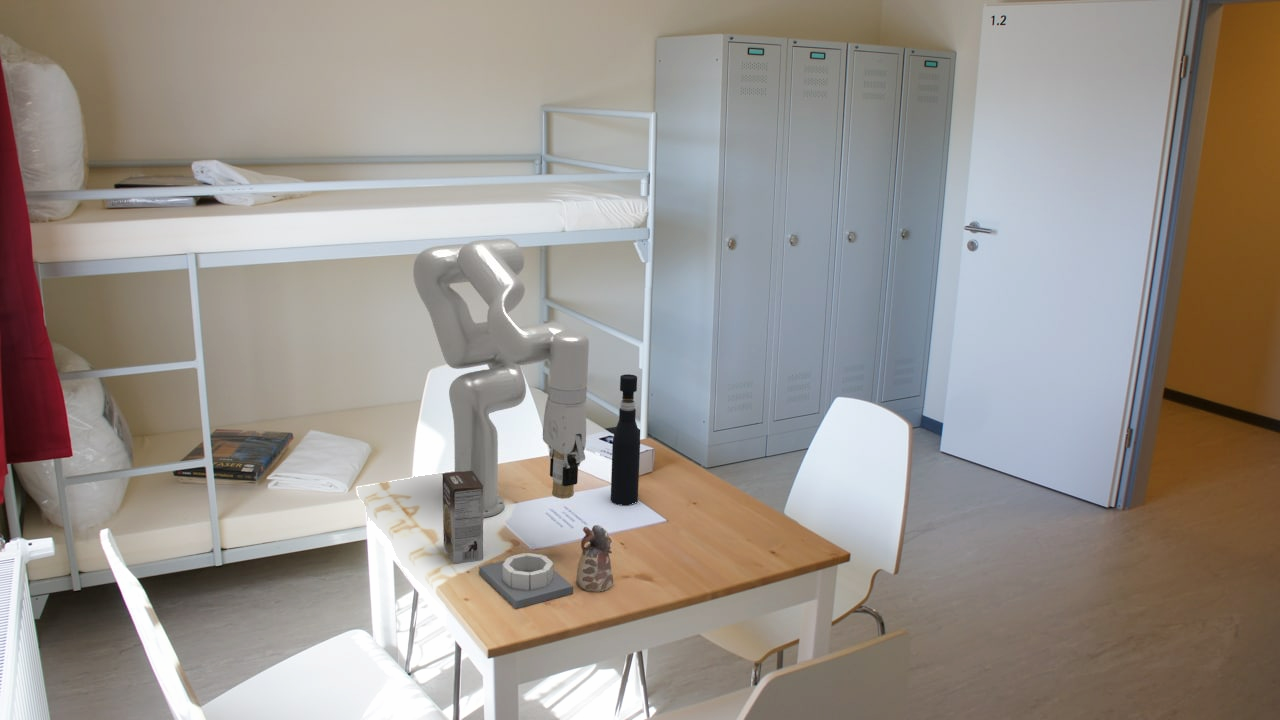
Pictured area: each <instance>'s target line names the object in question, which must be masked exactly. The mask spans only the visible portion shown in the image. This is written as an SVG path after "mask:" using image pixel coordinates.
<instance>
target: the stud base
mask: <svg viewBox="0 0 1280 720" xmlns="http://www.w3.org/2000/svg"><path fill="white" fill-rule="evenodd" d="M478 574H479V575H480V576H481V577H482V578H483V579H484V580H485V581H486V582H488V584H489V585H490V586H492V587H493V589H494V590H496V591H497V593H498V594H500V595H501V596H502V597H503V598H504V599H505V600H506V602H508V603H509V604H510V605H511V606H512V607H514V609H520V608H524V607H528V606H532V605H536V604H538V603H543V602H545V601H546V602H547V601H551V600H554V599H558V598H562V597H565V596H568V595H569V596H570V595H574V585H573V584H571V583H570V582H569V581H568V580H567V579H566V578H564V577H563V576H561V575H560V574H559V572H557V571H555V569H554V561H552V560H551V559H549V558H548V556H546V555H544V554H538V553H533V552H532V553H531V552H527V553H525V552H523V553H518V554H514V555H510V556H509V557H507V558H506V559H505V560H501V561H496V562H492V563H488V564H484V565H481V566H480V565H479V566H478Z"/></svg>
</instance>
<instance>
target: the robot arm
mask: <svg viewBox="0 0 1280 720" xmlns="http://www.w3.org/2000/svg"><path fill="white" fill-rule="evenodd" d="M524 265H525V256H524V252H523V251H522V248H521V247H520V246H519V244H518V243H517V242H516V241H514V240H512V239H509V238H494V239H481V240H479V239H478V240H474V241H471V242H468V243H461V244H460V243H459V244H446V245H438V246H432V247H429V248H425V249H423V250H422V251H421V252H419V254H417V256H416V257H415V260H414V264H413V270H412V271H413V274H412V275H413V281H414V284H415V285H414V286H415V288H416V290H417V291H416V292H417V293H418V295H419V297H420V299H421V300H422V302H423V304H424V306H425V308H426V310H427V311H428V314H429V316H430V319H431V323H432V327H433V329H434V332H435V335H436V338H437V342H438V344H439V347H440V352H441V353H442V356H443V358H444V361H445V362H446V364H447V366H448V367H450V368H452V369H460V370H461V369H469V368H474V367H480V366H485V365H487V367H488V369H481V370H475V371H470V372H467V373H464V374H461V375H458V376H457V377H456V378H455V379H454V380H453V381H452V382H451V384H450V386H449V390H448V396H449V402H450V407H451V412H452V418H453V433H454V434H453V438H454V440H453V442H454V472H460V471H462V472H464V471H473V472H474V474H475V475H476V477H477V478H478V479H479V481H480V482H481V483H482V485H483V518H486V517H487V518H488V517H491V516H496V515H497V514H499V513H501V512H502V511H503V510H504V509H505V500H504V499H503V497H500V496H499V495H498V485H499V484H498V483H499V482H498V479H499V473H498V466H499V465H498V459H499V458H498V457H499V456H498V455H499V453H498V449H499V447H498V446H499V442H498V441H499V439H498V430H497V427H496V426H495V424H494V422H493V421H492V419H490V416H489V414H492V413H494V412H499V411H504V410H508V409H513V408H515V407H518V406H519V405H520V404H522V403H523V402H524V400H525V397H526V395H527V394H526V393H527V385H526V381H525V377H524V373H523V371H522V368H521V366H527V365H532V364H533V365H534V364H537V363H542V362H549V363H548V365H549V366H548V367H549V368H548V369H549V371H548V388H547V389H548V390H547V392H548V393H547V399H546V403H545V407H544V415H543V426H542V440H543V441H542V442H543V443H545V444H546V445H547V446H548V447H549V454H548V455H549V457H550V462H549V477H551V478H553V458H554V450H556V451H557V452H559V453H560V454H562V455H564V460H565V467H563V476H562V485H563V486H570V485H574V486H575V485H577V484H578V478H579V477H578V476H579V467H580V464H581V463H582V462H583V461H585V460H586V455H585V450H586V445H587V444H586V443H587V413H586V403H587V391H588V389H587V388H588V369H589V368H588V367H589V349H590V341H589V338H588V336H587V335H586V334H585V333H582V332H580V331H575V330H572V329H570V328H569V327H568V326H566V325H564V323H561V322H556V321H553V322H544V323H538V324H537V323H536V324H531V325H524V326H520V327H519V326H518V325H517V324H516V323H515V322H514V321H513V319H512V318H511V317H510V315H509V313H510V312H511V311H512V310H514V309H515V308H516V307H517V306H518V305H519V304H520V302H521V301H522V300H523V298H524V296H525V293H526V291H525V289H526V288H525V284H524V282H523V281H522V280H521V279H520V278H519V276H518V275H519V274H520V273H521V272H522V271H523V269H524V267H525V266H524ZM461 283H470V284H471V286H472V287H473V289H475V291H476V292H477V293H478V294H479V296H480V297H481V298H482V299H483V301H484V303H486V304H487V306H488V309H487V316H486V317H487V318H486V319H487V321H483V322H475V321H474V320H473V317H472V315H471V312H470V309H469V307H468V304H467V302H466V301H465V300H464V298H463V297H462V296H461V294H459V292H457V291H456V290H454V288H452V287H451V284H461ZM572 449H574V451H572ZM570 455H574V458H571V460H570V458H569V456H570Z"/></svg>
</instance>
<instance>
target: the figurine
mask: <svg viewBox="0 0 1280 720" xmlns="http://www.w3.org/2000/svg"><path fill="white" fill-rule="evenodd" d="M582 531H583V532H584V534H585V536H583V538H581V544H580V548H581V550H582V551H581V554H580V557H579V560H578V565H577V571H576V583H577V585H578V586H577V587H579V588H580V589H582V590H584V591H587V592H591V591H593V593H594V592H595V593H600V591H602V592H605V591H607V590H609V589H610V588H611V587H614V576H613V571H612V564H611V558H610V554H612V553H613V550H612V549H611V544H612V542H613V541H612V539H611V537H610V536H609V532H608V531H607V530H606V529H605V528H604V527H603V526H601V525H599V524H596V525H593V526H592V527H591V529H590V528H589V527H588V526H584V527H583V528H582ZM588 542H589V543H588ZM587 543H588V544H587ZM586 544H587V545H586ZM608 588H609V589H608ZM604 590H605V591H604Z"/></svg>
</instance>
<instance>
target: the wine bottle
mask: <svg viewBox="0 0 1280 720" xmlns="http://www.w3.org/2000/svg"><path fill="white" fill-rule="evenodd" d="M619 379H620V380H619V382H620V383H619V391H620V392H622V397H621V398H622V400H621V401H620V408H619V410H618V411H619V413H618V415H619V416H618V421H617V424H616V427H615V430H614V434H613V438H612V446H611V447H612V451H611V474H610V475H611V479H610V481H611V482H610V502H611V503H613V504H614V503H616V504H615V505H618V504H622V505H621V506H630V505H629V504H632V503H635V502H637V503H638V502H639V483H640V482H639V480H640V477H639V476H640V459H641V458H640V454H641V440H640V439H641V438H640V437H641V436H640V432H639V428H638V425H637V421H636V414H637V413H636V412H637V409H636V406H635V405H636V402H635V401H634V399H635V398H634V395H635V394H634V393H636V392H638V391H637V389H638V376H637V375H634V374H622V375H620V377H619ZM635 504H636V503H635ZM632 505H633V504H632Z"/></svg>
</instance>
